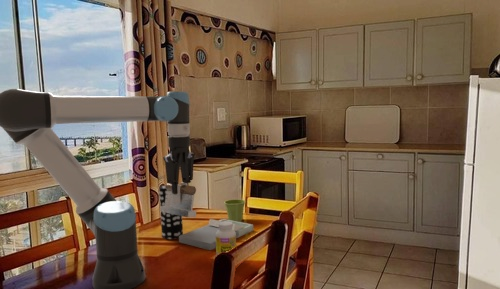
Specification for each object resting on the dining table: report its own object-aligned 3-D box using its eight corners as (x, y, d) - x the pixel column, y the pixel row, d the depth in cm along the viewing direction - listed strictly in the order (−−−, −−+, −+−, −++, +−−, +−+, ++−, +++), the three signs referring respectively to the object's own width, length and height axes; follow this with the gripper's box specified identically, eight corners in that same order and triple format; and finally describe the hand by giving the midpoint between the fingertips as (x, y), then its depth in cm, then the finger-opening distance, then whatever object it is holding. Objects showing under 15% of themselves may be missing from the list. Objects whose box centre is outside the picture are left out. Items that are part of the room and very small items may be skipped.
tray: (238, 237, 161) (237, 231, 161) (207, 230, 171) (207, 224, 170) (253, 230, 169) (253, 224, 169) (223, 224, 178) (223, 218, 178)
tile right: (233, 230, 160) (235, 224, 161) (222, 227, 164) (223, 221, 165) (242, 232, 165) (244, 226, 166) (231, 230, 169) (232, 224, 169)
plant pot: (221, 219, 186) (220, 200, 185) (240, 216, 190) (240, 198, 189) (229, 225, 177) (228, 205, 176) (249, 221, 181) (248, 202, 180)
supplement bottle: (218, 265, 134) (217, 227, 133) (215, 258, 141) (213, 221, 139) (238, 262, 136) (237, 224, 135) (234, 255, 143) (232, 219, 141)
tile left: (219, 227, 165) (220, 221, 166) (208, 225, 169) (209, 218, 169) (228, 229, 170) (229, 223, 170) (217, 227, 173) (219, 221, 174)
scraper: (187, 217, 140) (191, 186, 141) (159, 211, 148) (163, 182, 149) (195, 217, 144) (199, 186, 144) (167, 211, 152) (171, 182, 152)
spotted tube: (185, 232, 170) (182, 184, 167) (179, 239, 161) (177, 188, 159) (165, 232, 170) (162, 184, 168) (159, 239, 162) (156, 189, 160)
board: (210, 250, 148) (210, 243, 148) (179, 242, 158) (178, 235, 158) (238, 237, 161) (237, 231, 161) (207, 230, 171) (207, 224, 170)
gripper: (169, 137, 136) (171, 207, 138) (202, 134, 149) (203, 198, 151) (154, 137, 141) (156, 204, 143) (187, 134, 154) (189, 196, 156)
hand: (180, 201), depth 147 cm, fingers closed on scraper, 3 cm apart
